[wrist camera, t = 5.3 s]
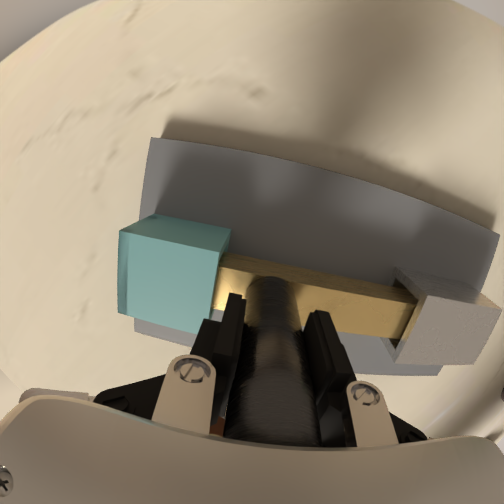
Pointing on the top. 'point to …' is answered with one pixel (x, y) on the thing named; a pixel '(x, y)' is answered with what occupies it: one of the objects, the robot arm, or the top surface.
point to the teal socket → (169, 270)
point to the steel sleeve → (442, 321)
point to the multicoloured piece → (293, 341)
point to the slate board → (312, 228)
